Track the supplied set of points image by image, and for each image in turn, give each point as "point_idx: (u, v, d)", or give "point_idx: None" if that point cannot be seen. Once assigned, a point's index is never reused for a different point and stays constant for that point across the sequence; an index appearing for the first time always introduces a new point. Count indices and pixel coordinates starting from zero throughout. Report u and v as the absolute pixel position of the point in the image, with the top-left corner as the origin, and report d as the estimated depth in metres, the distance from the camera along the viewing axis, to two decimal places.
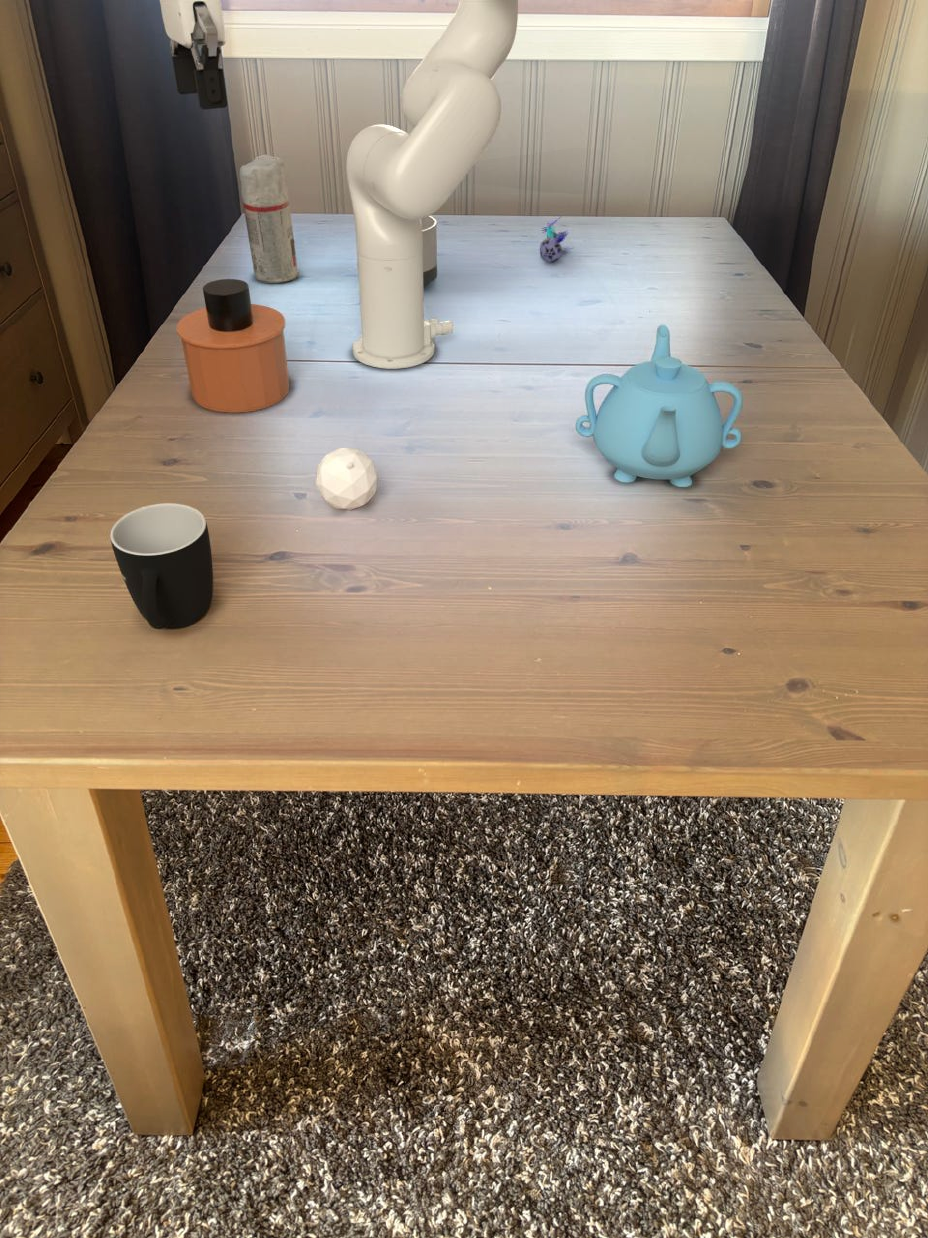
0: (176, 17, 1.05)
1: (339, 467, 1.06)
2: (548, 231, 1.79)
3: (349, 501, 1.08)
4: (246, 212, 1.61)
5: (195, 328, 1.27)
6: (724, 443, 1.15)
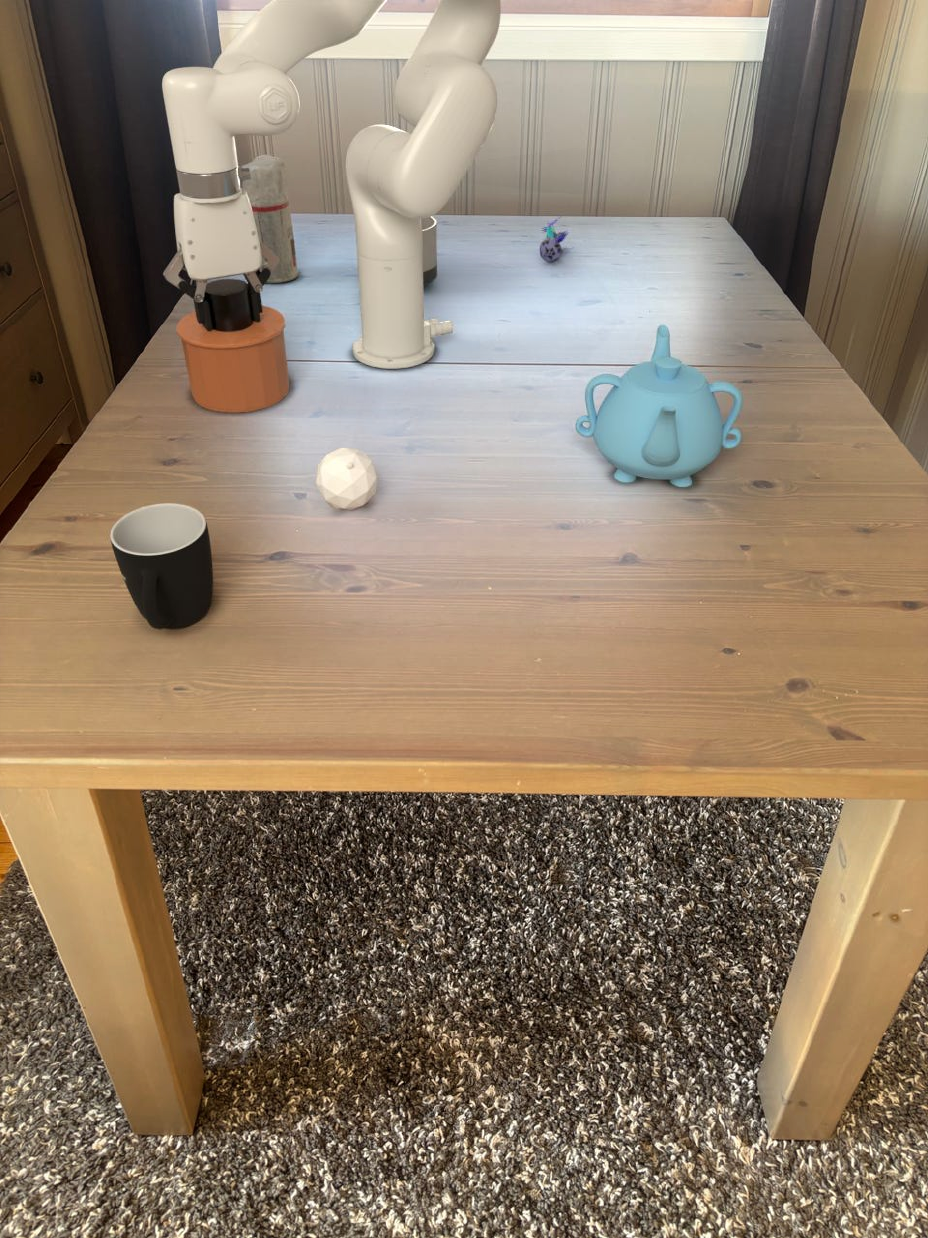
0: (247, 251, 1.22)
1: (339, 467, 1.06)
2: (548, 231, 1.79)
3: (349, 501, 1.08)
4: None
5: (195, 328, 1.27)
6: (724, 443, 1.15)
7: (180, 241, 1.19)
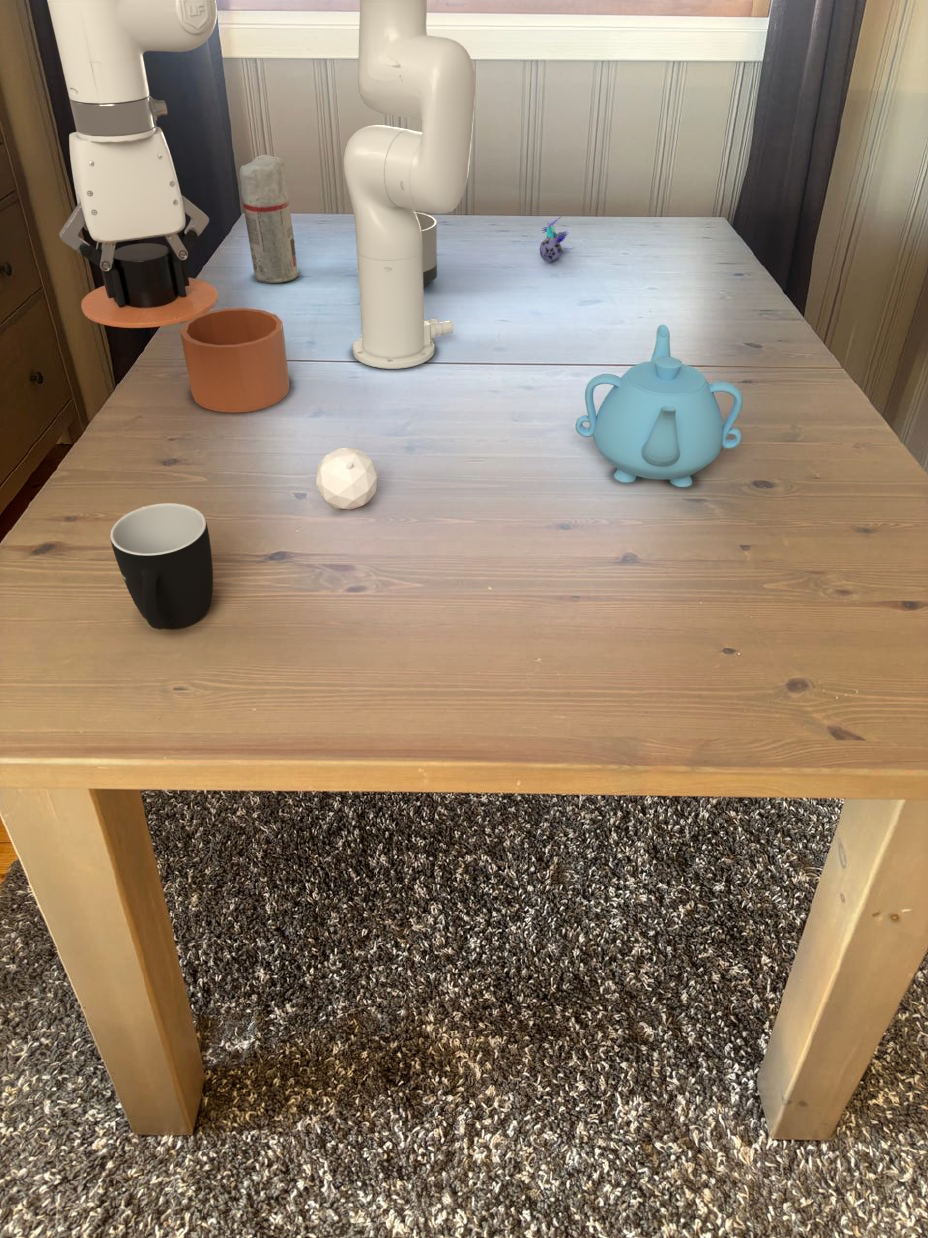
0: (165, 206, 0.98)
1: (339, 467, 1.06)
2: (548, 231, 1.79)
3: (349, 501, 1.08)
4: (246, 212, 1.61)
5: (104, 304, 1.03)
6: (724, 443, 1.15)
7: (78, 192, 0.95)
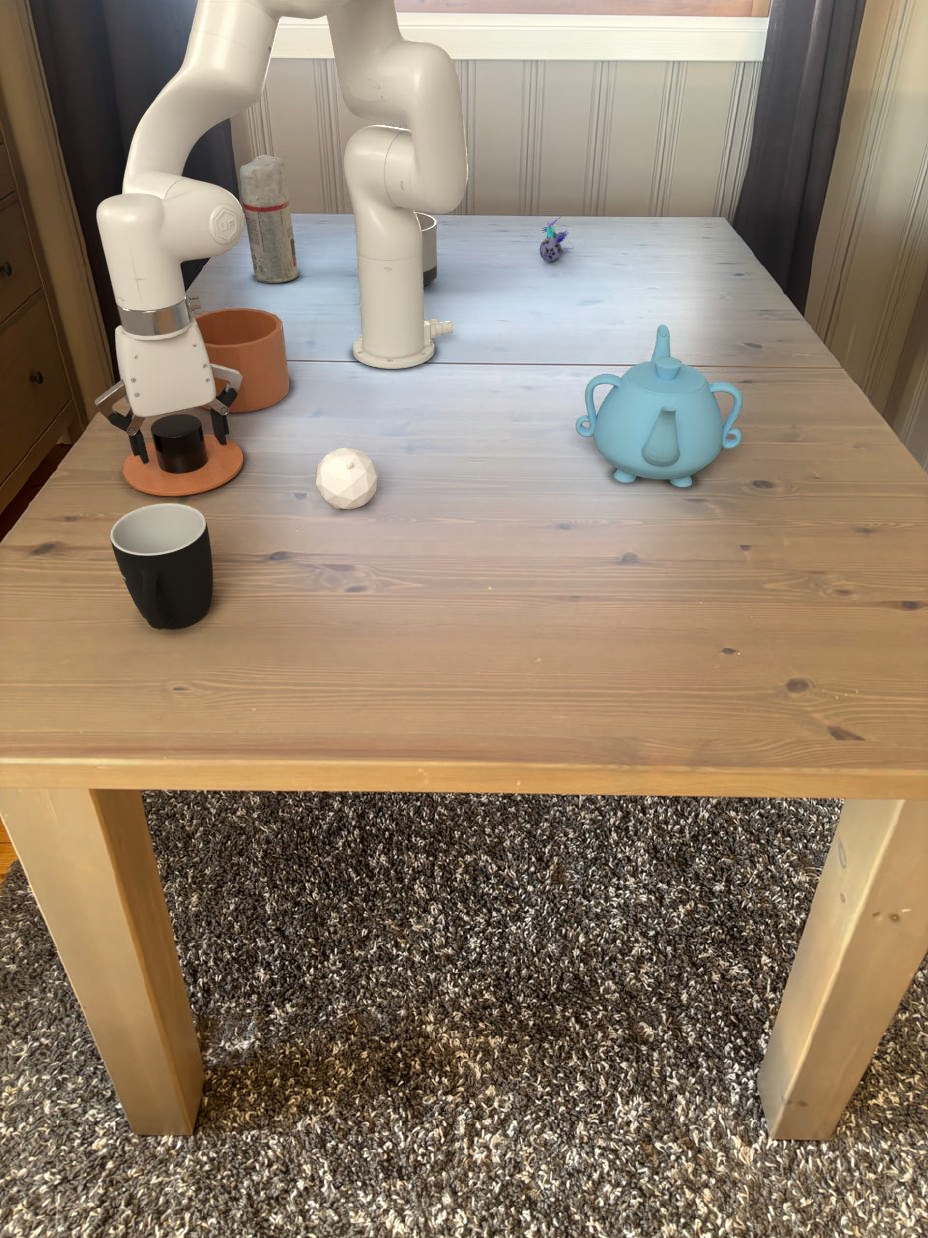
0: (199, 384, 1.10)
1: (339, 467, 1.06)
2: (548, 231, 1.79)
3: (349, 501, 1.08)
4: (246, 212, 1.61)
5: (143, 469, 1.16)
6: (724, 443, 1.15)
7: (123, 378, 1.07)
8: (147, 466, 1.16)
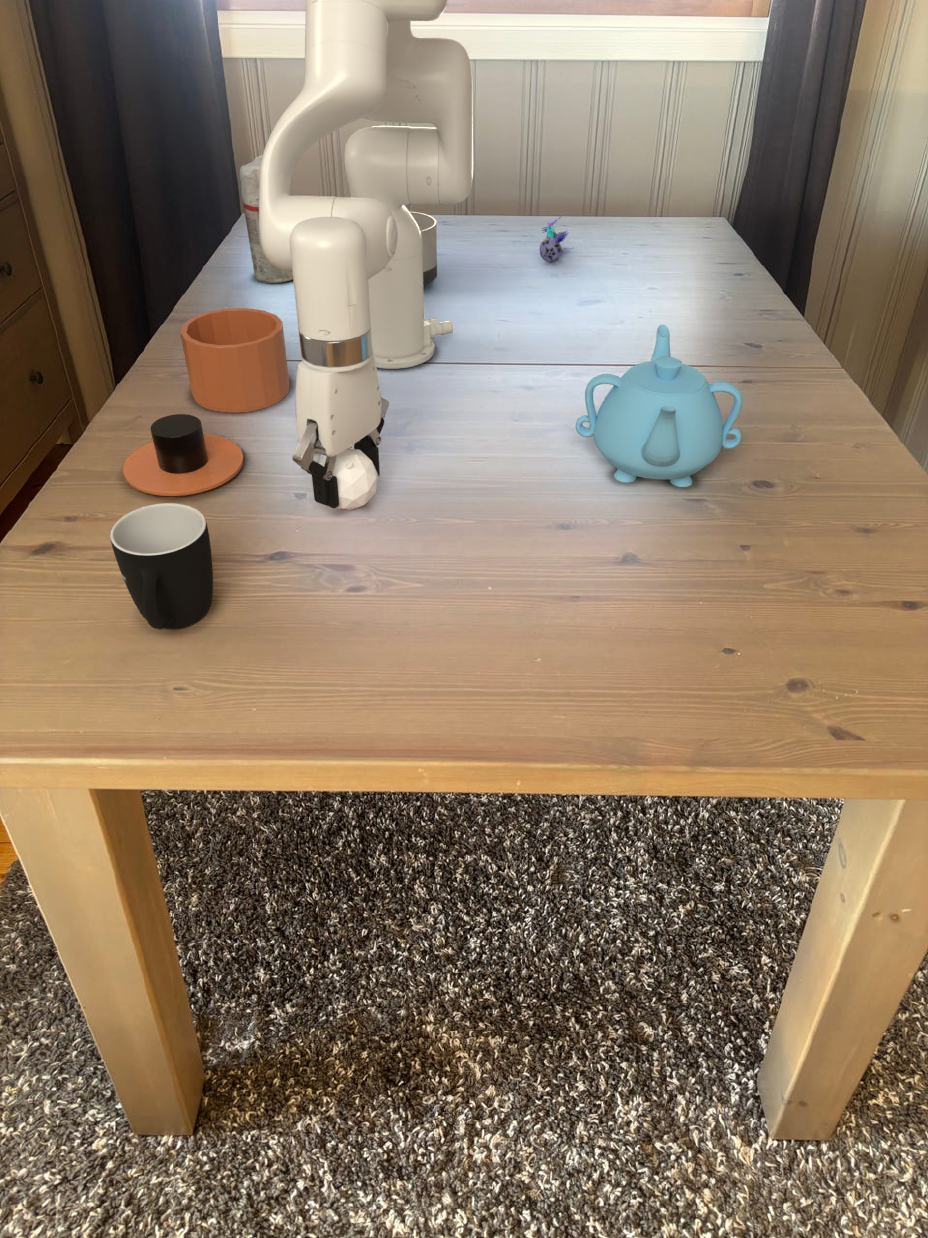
0: (374, 409, 1.06)
1: (339, 467, 1.06)
2: (548, 231, 1.79)
3: (349, 501, 1.08)
4: (246, 212, 1.61)
5: (143, 469, 1.16)
6: (724, 443, 1.15)
7: (316, 418, 1.00)
8: (147, 466, 1.16)
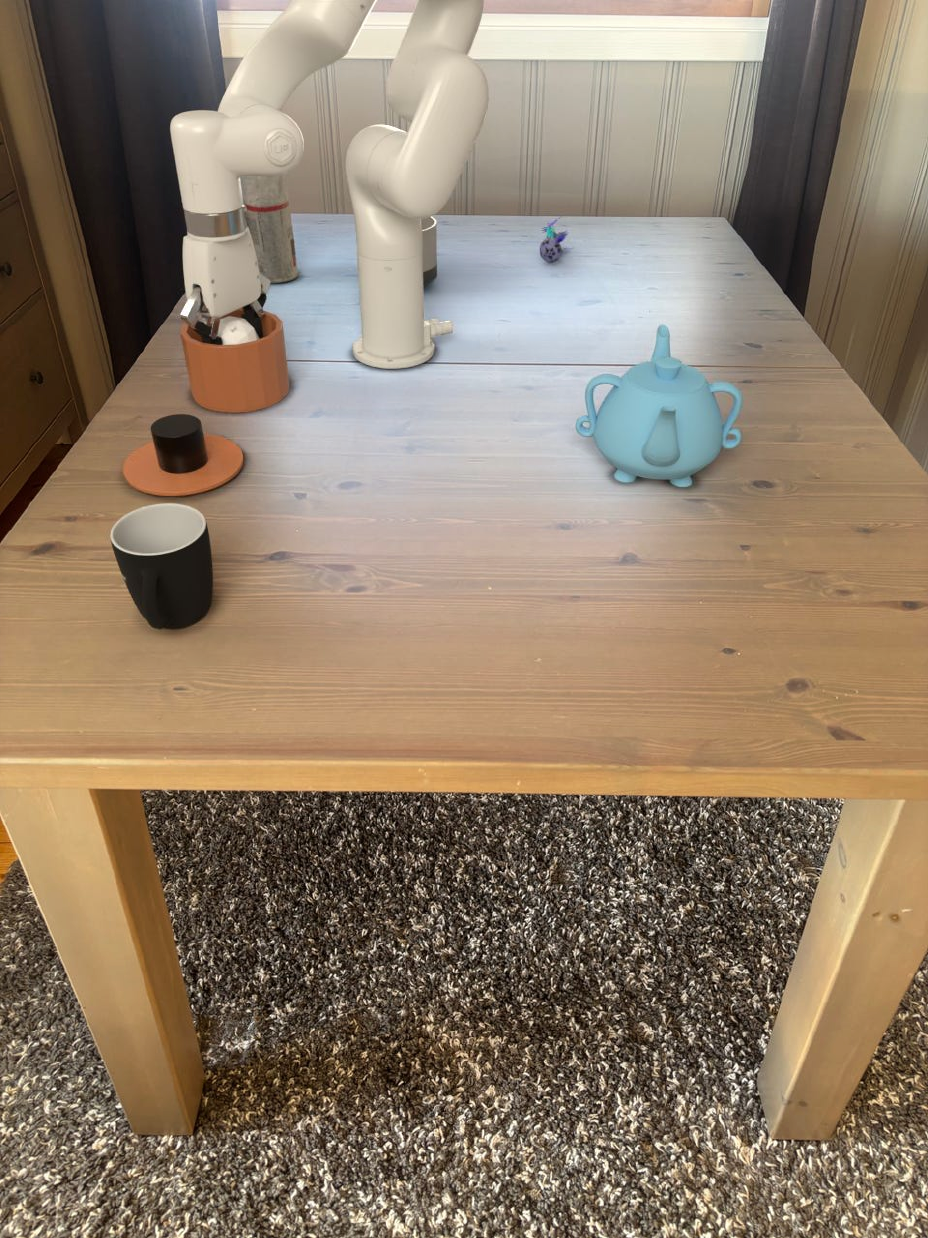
0: (253, 281, 1.26)
1: (224, 330, 1.27)
2: (548, 231, 1.79)
3: None
4: (246, 212, 1.61)
5: (143, 469, 1.16)
6: (724, 443, 1.15)
7: (199, 282, 1.21)
8: (147, 466, 1.16)
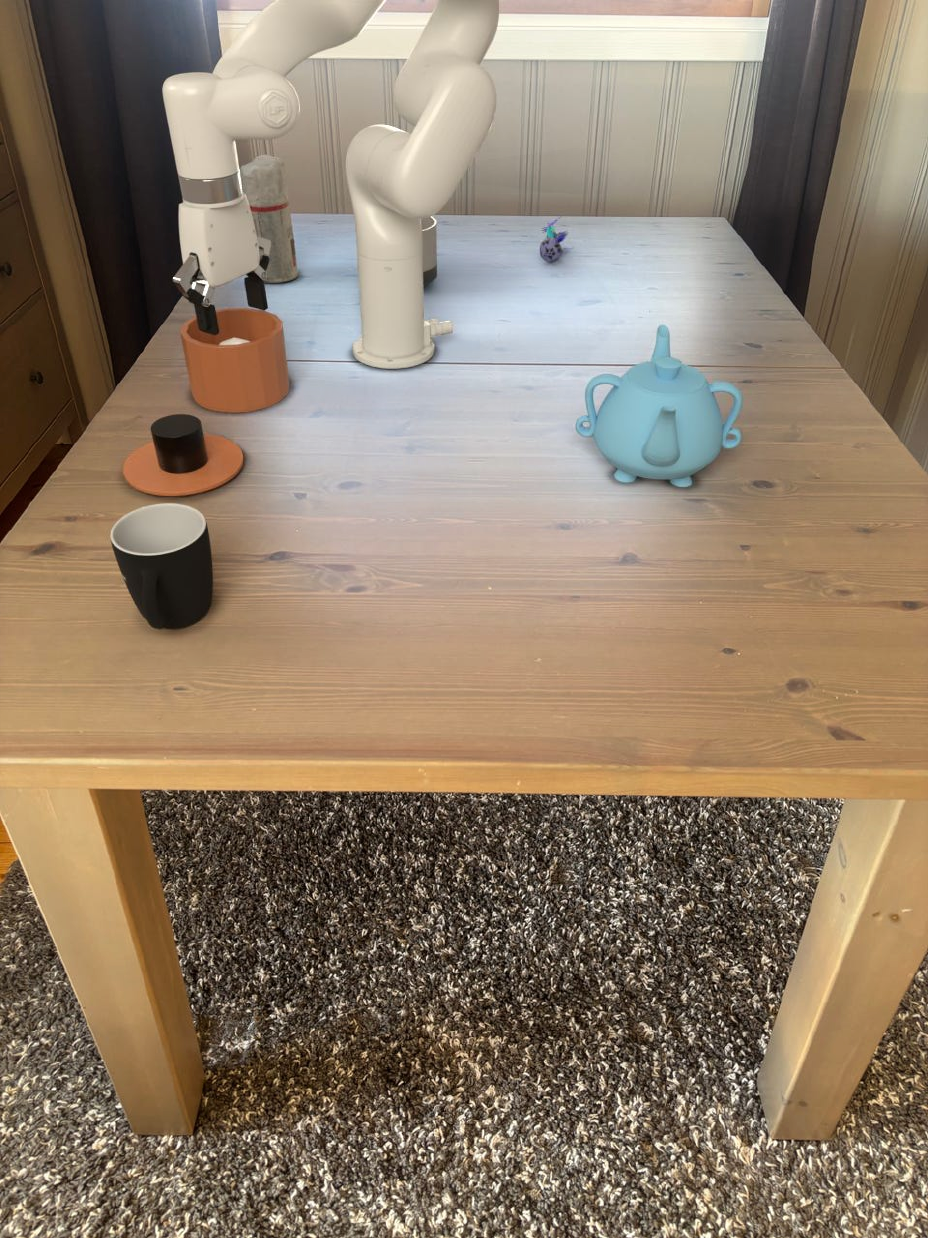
0: (251, 249, 1.24)
1: None
2: (548, 231, 1.79)
3: None
4: None
5: (143, 469, 1.16)
6: (724, 443, 1.15)
7: (196, 251, 1.18)
8: (147, 466, 1.16)
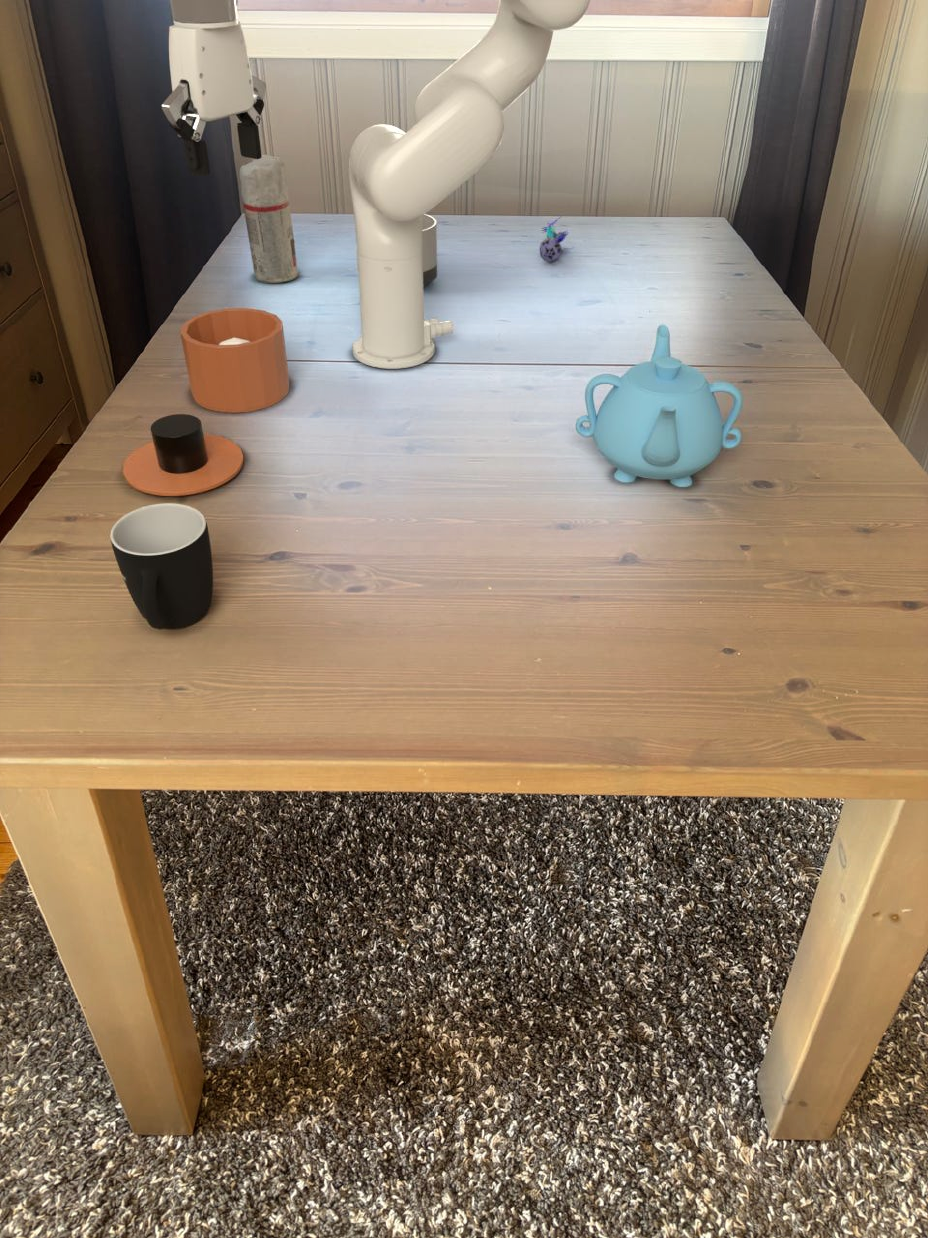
0: (245, 86, 1.18)
1: None
2: (548, 231, 1.79)
3: None
4: (246, 212, 1.61)
5: (143, 469, 1.16)
6: (724, 443, 1.15)
7: (186, 77, 1.12)
8: (147, 466, 1.16)
